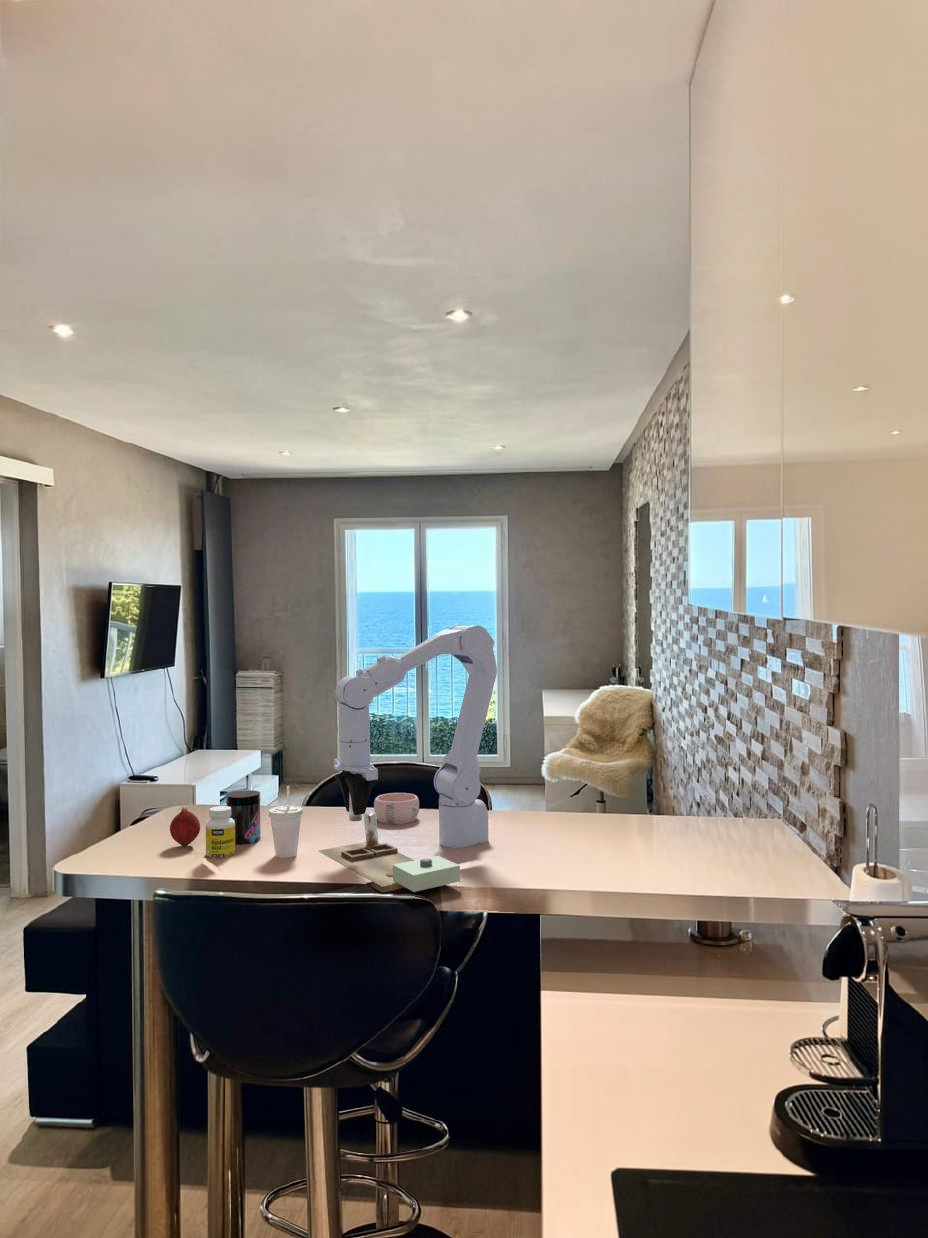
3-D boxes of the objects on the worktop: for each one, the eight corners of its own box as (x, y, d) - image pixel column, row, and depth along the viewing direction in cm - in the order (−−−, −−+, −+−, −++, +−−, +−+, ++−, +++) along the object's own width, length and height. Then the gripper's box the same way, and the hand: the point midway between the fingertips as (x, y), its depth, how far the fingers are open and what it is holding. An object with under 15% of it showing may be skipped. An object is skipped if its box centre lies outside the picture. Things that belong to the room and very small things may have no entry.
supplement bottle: (208, 865, 157) (208, 812, 157) (203, 857, 162) (202, 807, 161) (238, 861, 159) (237, 809, 159) (232, 853, 164) (231, 803, 164)
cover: (437, 871, 147) (437, 851, 147) (459, 881, 142) (459, 860, 142) (392, 880, 142) (392, 860, 142) (413, 892, 137) (413, 870, 137)
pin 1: (359, 817, 159) (359, 786, 159) (363, 820, 157) (363, 788, 157) (347, 819, 158) (347, 787, 158) (351, 822, 156) (351, 789, 156)
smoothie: (295, 866, 156) (294, 790, 155) (263, 864, 157) (262, 789, 157) (308, 856, 162) (307, 783, 162) (277, 854, 163) (276, 782, 163)
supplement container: (240, 851, 165) (239, 799, 165) (219, 846, 170) (219, 794, 169) (267, 844, 171) (267, 793, 170) (247, 838, 175) (246, 788, 175)
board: (373, 845, 169) (373, 836, 169) (443, 879, 147) (442, 869, 147) (317, 855, 162) (317, 846, 162) (382, 892, 140) (382, 882, 140)
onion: (205, 846, 170) (205, 806, 169) (179, 852, 165) (178, 811, 165) (191, 840, 174) (190, 802, 173) (164, 847, 169) (164, 807, 169)
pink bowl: (414, 830, 180) (414, 802, 180) (369, 829, 181) (369, 802, 181) (424, 816, 192) (424, 790, 192) (382, 815, 193) (381, 790, 193)
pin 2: (370, 841, 167) (368, 812, 167) (380, 842, 166) (378, 812, 166) (363, 845, 165) (361, 815, 165) (374, 846, 164) (371, 816, 164)
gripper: (319, 737, 161) (320, 808, 162) (352, 747, 149) (353, 823, 150) (352, 734, 165) (353, 803, 166) (387, 743, 153) (388, 817, 153)
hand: (355, 812), depth 158 cm, fingers closed on pin 1, 2 cm apart
